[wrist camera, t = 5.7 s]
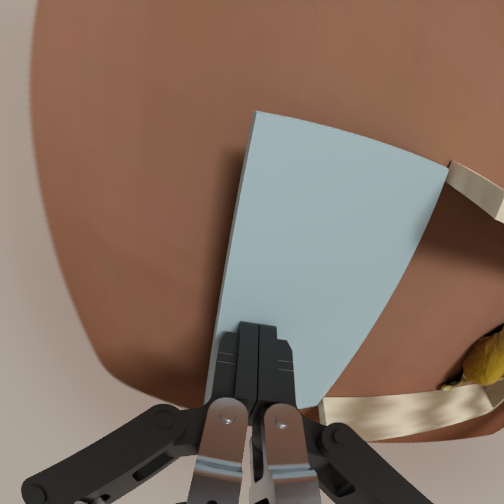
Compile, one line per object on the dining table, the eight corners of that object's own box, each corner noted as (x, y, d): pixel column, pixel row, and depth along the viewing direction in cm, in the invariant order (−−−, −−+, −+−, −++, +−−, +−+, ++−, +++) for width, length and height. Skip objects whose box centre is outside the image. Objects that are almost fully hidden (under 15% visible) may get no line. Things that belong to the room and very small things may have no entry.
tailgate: (449, 169, 9) (256, 112, 7) (316, 405, 18) (203, 418, 16) (442, 165, 9) (253, 110, 7) (314, 401, 19) (202, 413, 16)
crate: (580, 246, 11) (602, 269, 8) (480, 386, 21) (491, 411, 18) (451, 159, 9) (505, 192, 6) (317, 403, 19) (322, 445, 16)
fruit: (434, 391, 20) (446, 423, 17) (458, 335, 16) (479, 375, 13) (498, 362, 19) (512, 389, 16) (529, 303, 15) (550, 333, 11)
